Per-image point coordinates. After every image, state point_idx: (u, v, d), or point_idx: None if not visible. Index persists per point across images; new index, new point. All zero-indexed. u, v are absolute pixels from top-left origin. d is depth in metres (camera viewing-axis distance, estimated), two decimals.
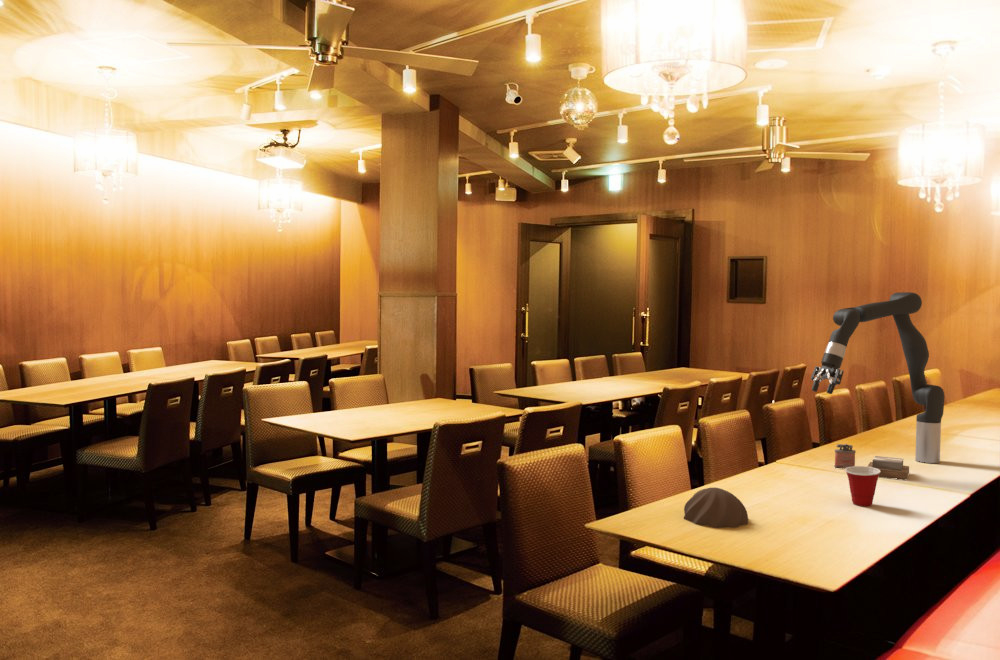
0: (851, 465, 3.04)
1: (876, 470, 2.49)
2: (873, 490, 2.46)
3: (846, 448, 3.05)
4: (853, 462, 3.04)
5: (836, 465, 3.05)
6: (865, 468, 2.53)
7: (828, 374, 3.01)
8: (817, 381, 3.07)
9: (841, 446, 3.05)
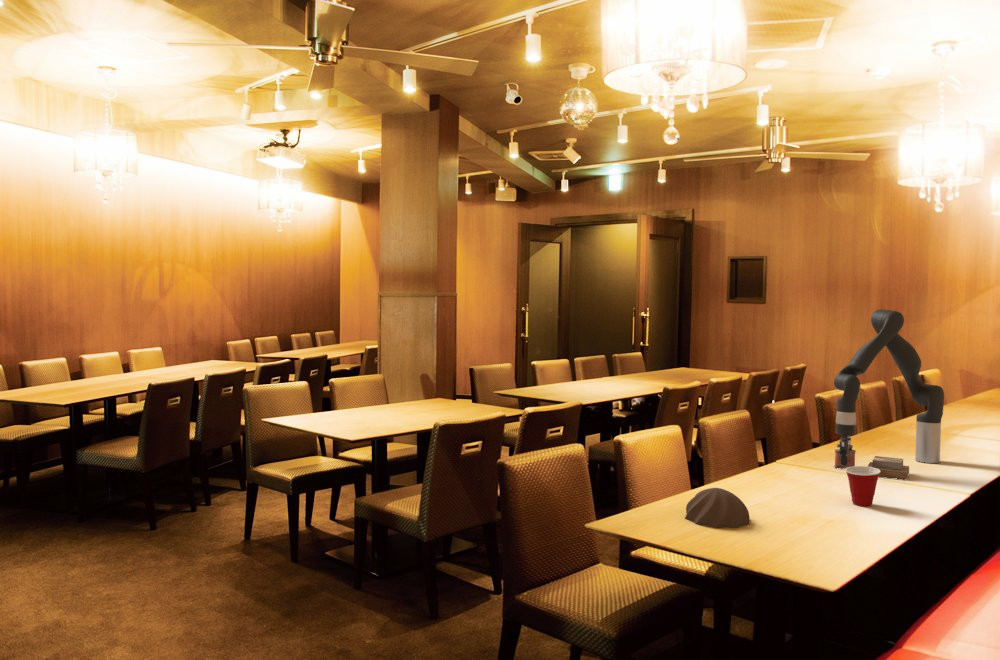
0: (851, 465, 3.04)
1: (876, 470, 2.49)
2: (873, 490, 2.46)
3: None
4: (853, 462, 3.04)
5: (836, 465, 3.05)
6: (865, 468, 2.53)
7: None
8: None
9: None
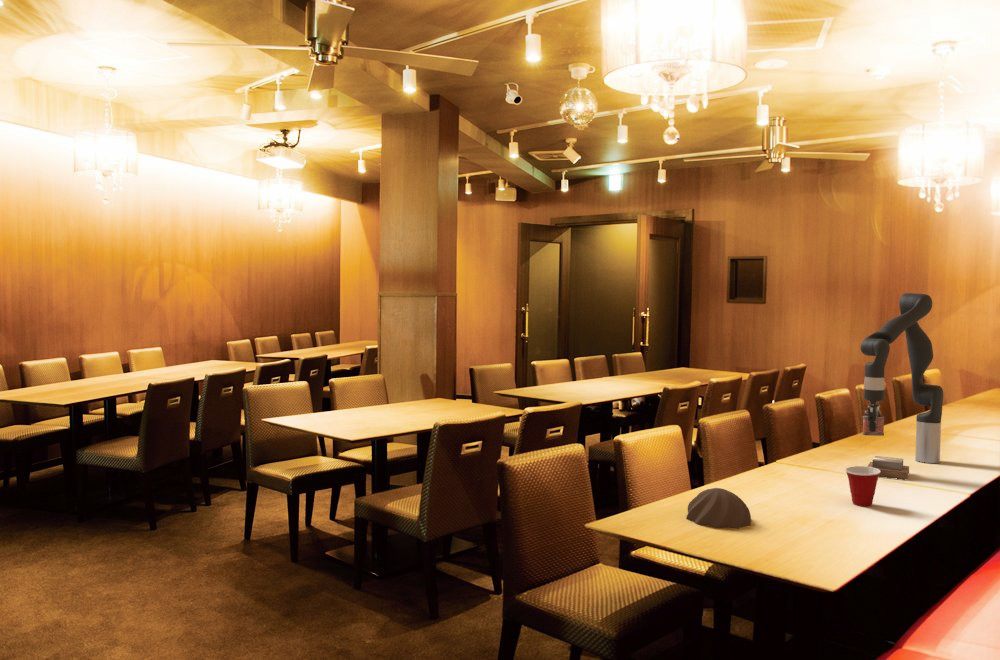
0: (880, 431, 2.97)
1: (876, 470, 2.49)
2: (873, 490, 2.46)
3: None
4: (882, 428, 2.97)
5: (864, 432, 2.98)
6: (865, 468, 2.53)
7: None
8: None
9: None
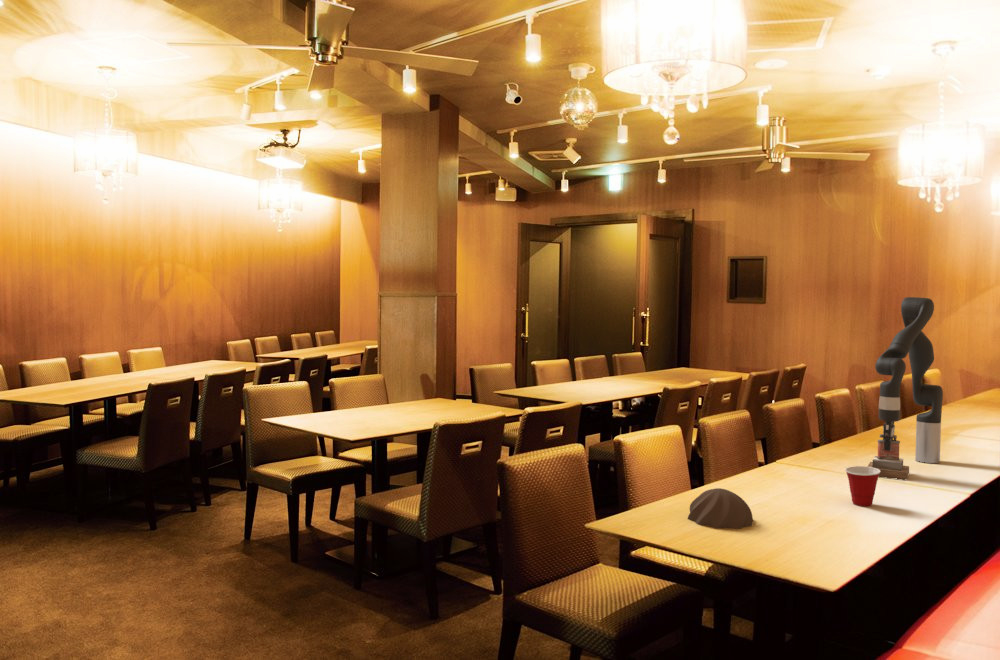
0: (895, 456, 2.93)
1: (876, 470, 2.49)
2: (873, 490, 2.46)
3: None
4: (897, 453, 2.93)
5: (879, 456, 2.94)
6: (865, 468, 2.53)
7: (883, 430, 2.93)
8: None
9: None
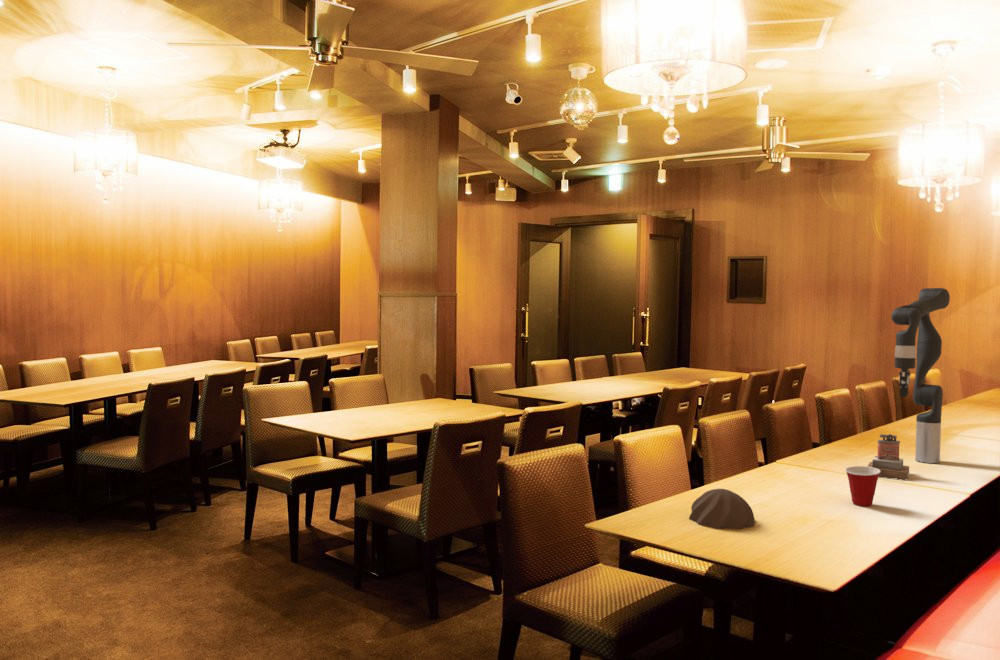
0: (895, 456, 2.93)
1: (876, 470, 2.49)
2: (873, 490, 2.46)
3: (889, 438, 2.93)
4: (897, 453, 2.93)
5: (879, 456, 2.94)
6: (865, 468, 2.53)
7: (899, 378, 3.03)
8: None
9: (884, 436, 2.94)
